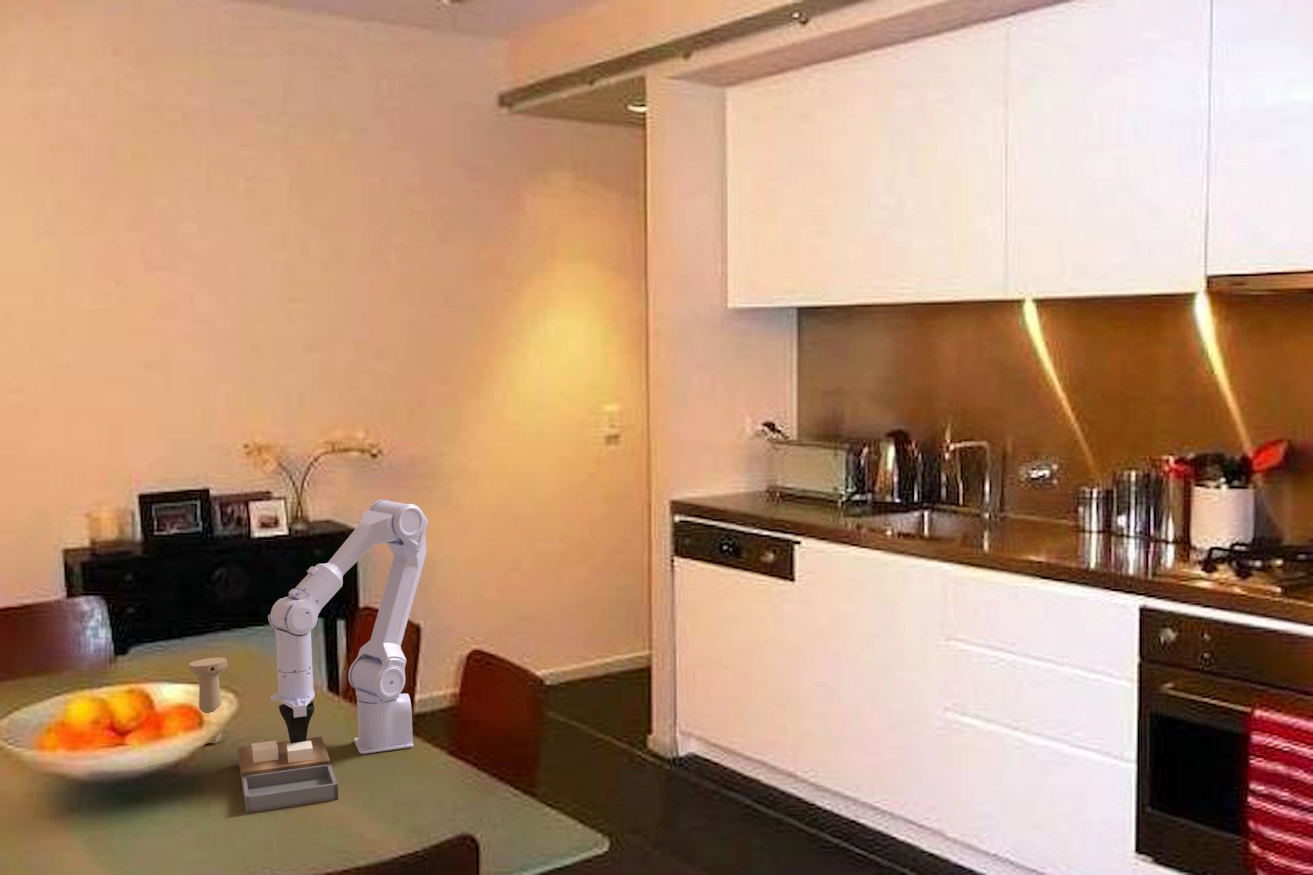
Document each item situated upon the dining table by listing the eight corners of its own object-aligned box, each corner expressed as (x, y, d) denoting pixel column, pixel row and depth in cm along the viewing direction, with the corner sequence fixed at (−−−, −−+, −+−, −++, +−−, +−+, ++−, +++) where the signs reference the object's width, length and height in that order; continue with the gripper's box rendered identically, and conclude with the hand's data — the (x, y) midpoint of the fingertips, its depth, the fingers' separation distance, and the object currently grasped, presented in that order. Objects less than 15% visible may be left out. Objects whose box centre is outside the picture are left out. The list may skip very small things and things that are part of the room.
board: (322, 752, 217) (321, 736, 217) (330, 777, 205) (330, 760, 205) (238, 764, 212) (238, 747, 212) (242, 790, 200) (241, 772, 200)
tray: (331, 778, 205) (330, 763, 205) (338, 799, 196) (337, 784, 196) (242, 790, 200) (242, 776, 200) (246, 812, 191) (245, 797, 191)
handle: (234, 741, 224) (230, 661, 222) (198, 749, 220) (194, 667, 218) (225, 734, 228) (221, 655, 226) (190, 742, 224) (186, 662, 222)
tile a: (311, 751, 209) (310, 740, 209) (313, 759, 205) (312, 748, 205) (287, 755, 208) (286, 743, 208) (288, 762, 204) (287, 751, 204)
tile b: (276, 751, 209) (276, 740, 209) (278, 759, 206) (277, 747, 206) (252, 754, 208) (251, 743, 208) (253, 762, 204) (252, 751, 204)
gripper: (267, 660, 213) (270, 735, 214) (273, 682, 200) (276, 763, 201) (309, 655, 216) (312, 730, 217) (317, 677, 202) (321, 757, 203)
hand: (298, 746), depth 209 cm, fingers closed
